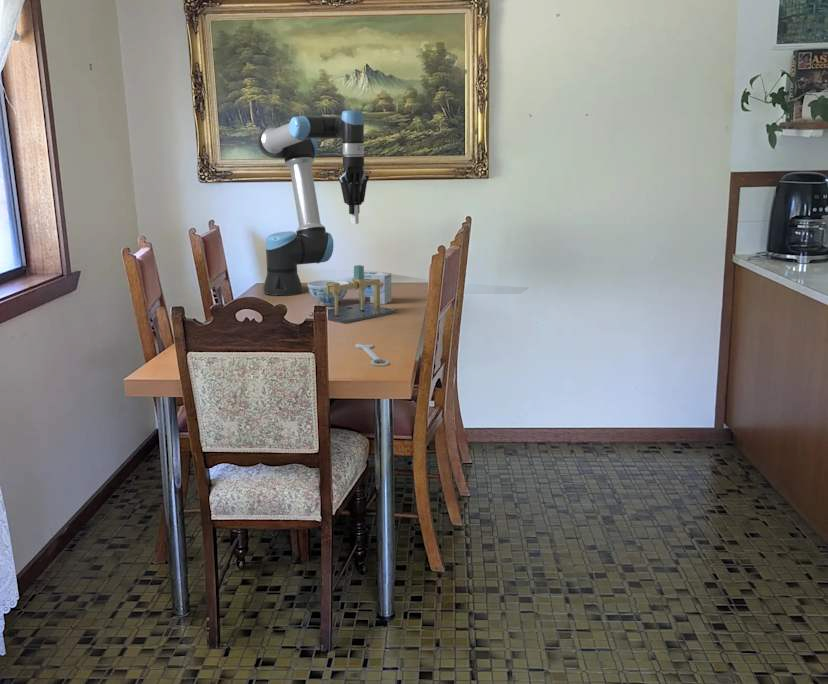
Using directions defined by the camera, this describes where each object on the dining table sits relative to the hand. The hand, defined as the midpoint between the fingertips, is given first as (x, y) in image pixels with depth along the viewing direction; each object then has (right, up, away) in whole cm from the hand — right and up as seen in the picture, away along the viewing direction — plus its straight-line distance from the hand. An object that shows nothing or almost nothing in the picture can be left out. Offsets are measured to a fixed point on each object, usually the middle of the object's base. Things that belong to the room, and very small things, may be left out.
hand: (354, 223), depth 306 cm
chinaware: (-10, -29, +7) cm, 31 cm away
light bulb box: (+7, -28, +11) cm, 31 cm away
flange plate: (0, -33, -11) cm, 35 cm away
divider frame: (+1, -32, -11) cm, 33 cm away
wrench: (+9, -47, -65) cm, 81 cm away
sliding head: (+2, -31, -9) cm, 33 cm away
